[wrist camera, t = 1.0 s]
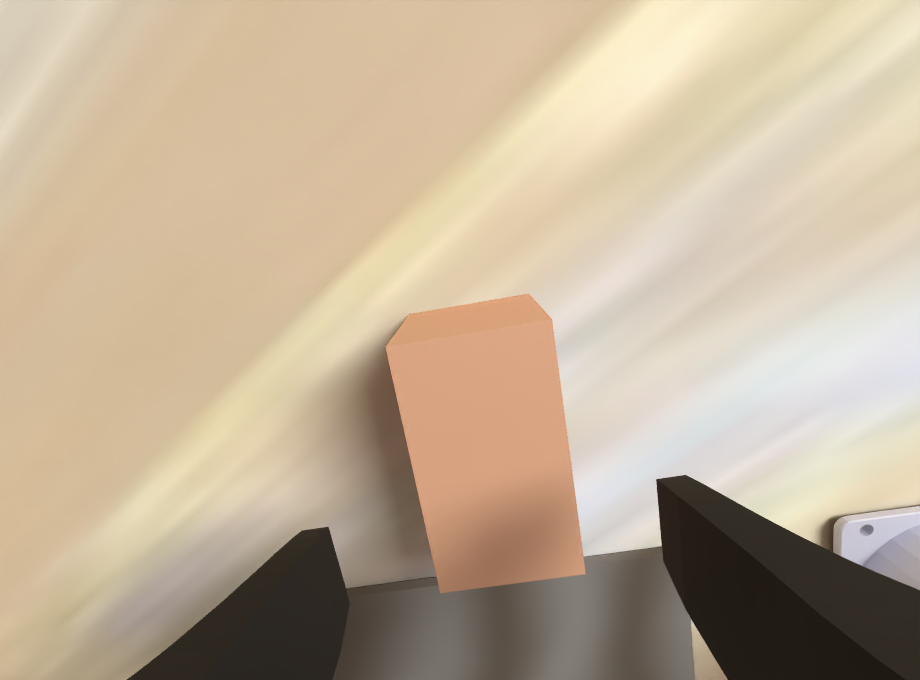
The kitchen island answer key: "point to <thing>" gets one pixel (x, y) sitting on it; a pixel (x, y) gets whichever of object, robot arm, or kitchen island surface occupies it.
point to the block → (488, 442)
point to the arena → (525, 627)
